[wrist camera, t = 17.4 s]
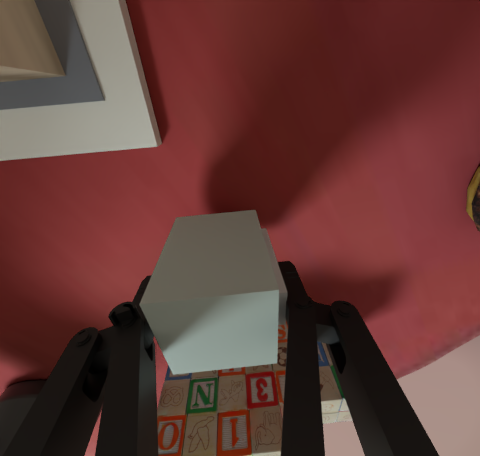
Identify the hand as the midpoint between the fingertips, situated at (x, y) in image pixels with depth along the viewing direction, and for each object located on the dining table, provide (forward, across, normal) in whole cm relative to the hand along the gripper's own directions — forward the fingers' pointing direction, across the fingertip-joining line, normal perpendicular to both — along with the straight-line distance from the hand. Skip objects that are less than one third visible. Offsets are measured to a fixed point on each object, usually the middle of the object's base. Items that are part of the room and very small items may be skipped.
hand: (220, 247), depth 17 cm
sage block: (0, 0, 0) cm, 0 cm away
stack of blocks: (+4, -3, +18) cm, 19 cm away
